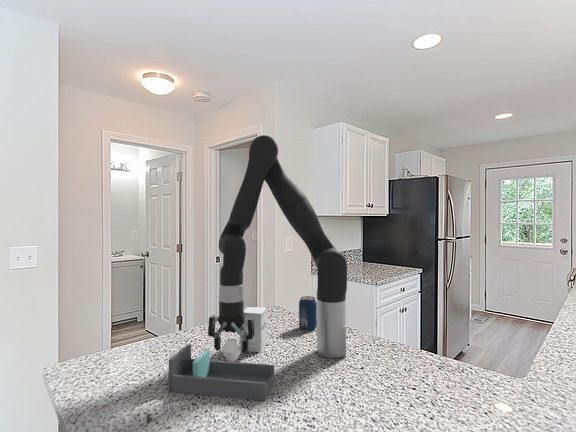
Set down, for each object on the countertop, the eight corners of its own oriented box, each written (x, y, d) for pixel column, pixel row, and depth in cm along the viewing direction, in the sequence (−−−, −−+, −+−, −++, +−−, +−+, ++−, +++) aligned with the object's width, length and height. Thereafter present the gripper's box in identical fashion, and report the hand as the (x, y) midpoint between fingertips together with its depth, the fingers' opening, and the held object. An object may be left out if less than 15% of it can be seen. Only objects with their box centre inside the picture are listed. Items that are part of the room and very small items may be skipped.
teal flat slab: (209, 372, 88) (209, 350, 88) (197, 386, 81) (197, 362, 81) (205, 371, 88) (205, 350, 88) (192, 386, 81) (192, 362, 81)
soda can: (315, 325, 129) (315, 295, 130) (317, 331, 123) (317, 300, 123) (298, 325, 129) (298, 296, 129) (299, 331, 122) (299, 300, 122)
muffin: (223, 365, 95) (223, 341, 95) (220, 357, 100) (220, 334, 100) (244, 362, 97) (244, 338, 97) (239, 354, 103) (239, 332, 103)
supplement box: (261, 352, 104) (260, 313, 104) (239, 351, 105) (239, 312, 105) (267, 344, 111) (267, 307, 111) (246, 342, 112) (246, 306, 112)
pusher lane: (274, 379, 86) (274, 350, 86) (265, 400, 76) (265, 367, 76) (187, 372, 91) (187, 344, 91) (168, 391, 81) (168, 359, 81)
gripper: (257, 296, 101) (256, 347, 101) (214, 294, 104) (214, 344, 104) (250, 302, 94) (249, 358, 94) (204, 300, 97) (204, 354, 97)
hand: (231, 350), depth 99 cm, fingers open, 8 cm apart
